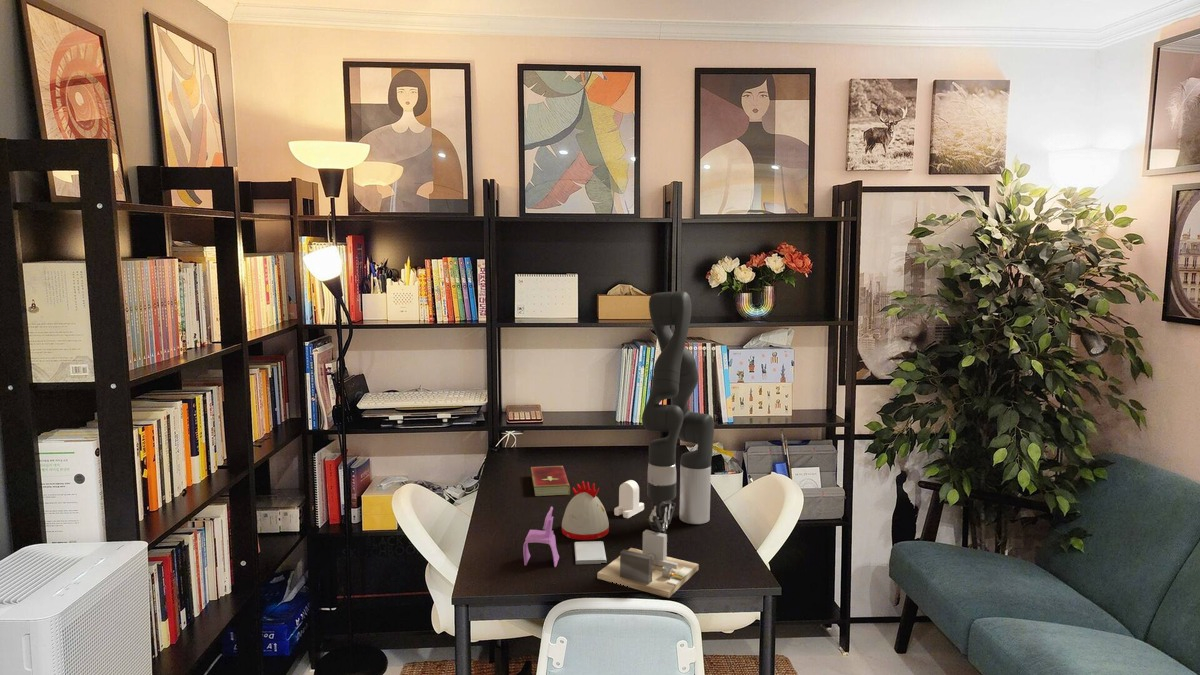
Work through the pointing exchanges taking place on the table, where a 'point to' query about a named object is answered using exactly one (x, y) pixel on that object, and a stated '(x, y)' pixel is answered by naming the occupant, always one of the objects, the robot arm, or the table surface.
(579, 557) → the hard drive
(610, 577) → the bench
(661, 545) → the upright plate with peg
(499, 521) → the table surface
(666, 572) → the grey block with pin
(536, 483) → the hardcover book
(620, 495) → the cable organizer
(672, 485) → the robot arm
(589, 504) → the kitchen timer
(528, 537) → the toy chair
